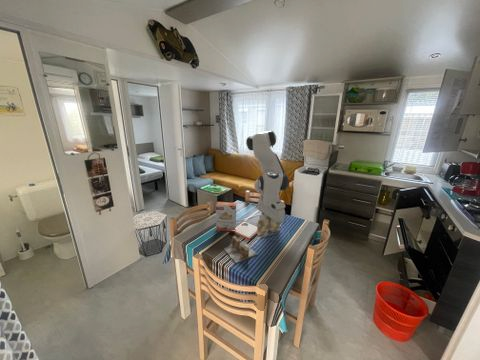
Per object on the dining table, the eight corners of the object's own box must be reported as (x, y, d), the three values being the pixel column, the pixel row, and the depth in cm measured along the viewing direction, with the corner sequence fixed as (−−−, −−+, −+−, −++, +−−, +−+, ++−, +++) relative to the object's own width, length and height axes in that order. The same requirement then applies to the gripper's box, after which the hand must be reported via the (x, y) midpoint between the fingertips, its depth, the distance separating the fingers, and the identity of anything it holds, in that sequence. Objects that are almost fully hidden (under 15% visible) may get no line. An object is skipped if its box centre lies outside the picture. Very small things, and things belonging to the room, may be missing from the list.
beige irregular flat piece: (259, 237, 115) (259, 222, 112) (257, 236, 117) (257, 220, 114) (279, 229, 124) (280, 215, 120) (277, 228, 125) (278, 214, 122)
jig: (223, 248, 127) (223, 239, 125) (243, 241, 134) (243, 233, 132) (236, 264, 114) (236, 254, 112) (257, 255, 122) (257, 245, 119)
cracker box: (216, 230, 147) (215, 204, 140) (217, 226, 152) (217, 201, 146) (235, 232, 146) (235, 205, 139) (236, 227, 151) (236, 202, 145)
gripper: (255, 195, 120) (254, 216, 125) (279, 208, 104) (277, 231, 108) (263, 193, 124) (262, 214, 128) (287, 206, 107) (285, 228, 112)
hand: (269, 222), depth 118 cm, fingers closed on beige irregular flat piece, 2 cm apart
